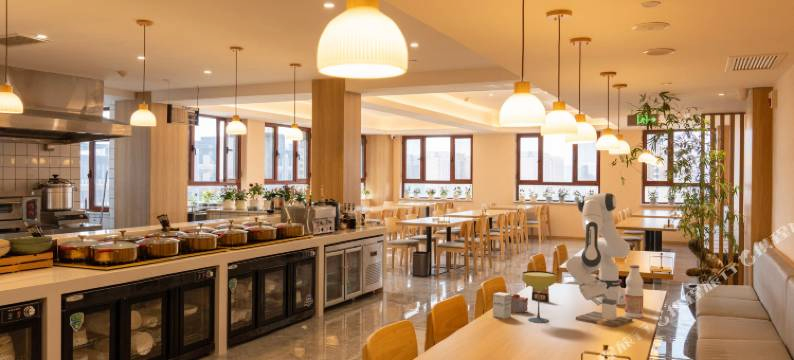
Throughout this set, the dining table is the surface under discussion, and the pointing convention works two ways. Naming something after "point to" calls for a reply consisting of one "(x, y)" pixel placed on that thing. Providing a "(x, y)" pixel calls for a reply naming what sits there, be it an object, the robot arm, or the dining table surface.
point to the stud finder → (609, 309)
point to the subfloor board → (597, 319)
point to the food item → (519, 304)
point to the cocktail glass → (539, 286)
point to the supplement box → (501, 305)
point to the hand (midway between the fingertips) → (603, 303)
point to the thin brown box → (541, 295)
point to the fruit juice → (634, 293)
